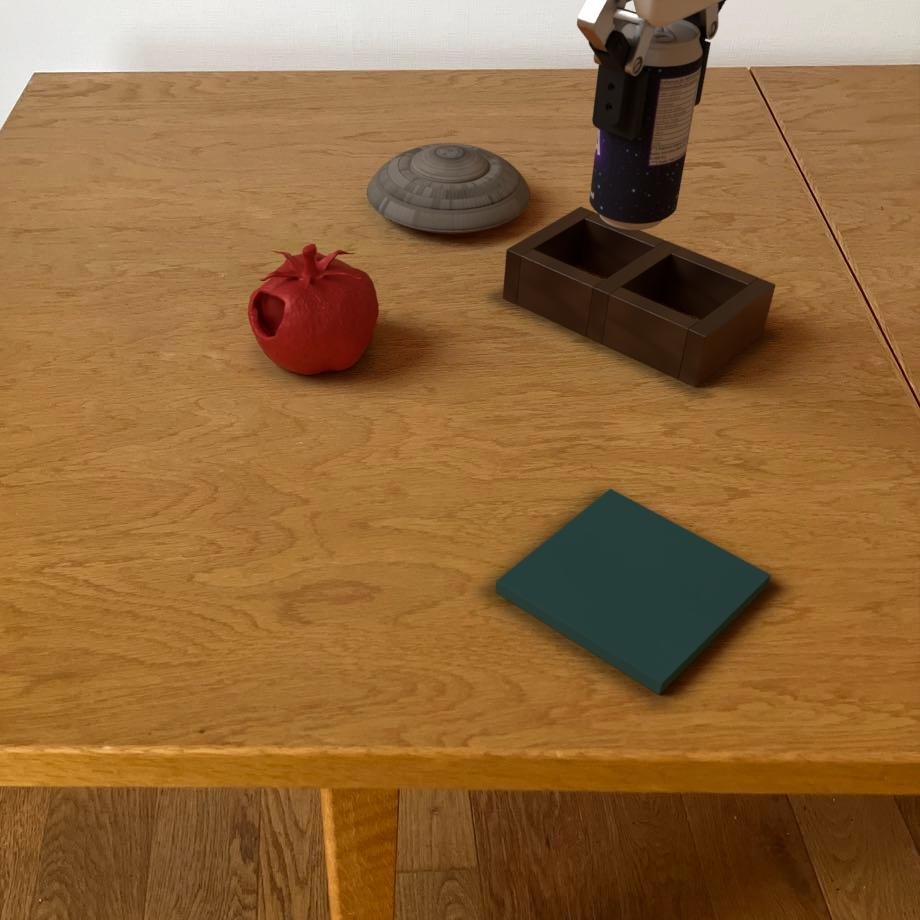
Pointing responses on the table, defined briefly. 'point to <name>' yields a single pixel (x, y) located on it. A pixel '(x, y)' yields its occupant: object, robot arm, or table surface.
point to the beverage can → (651, 135)
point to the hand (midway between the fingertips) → (646, 113)
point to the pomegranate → (314, 313)
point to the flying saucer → (448, 189)
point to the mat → (633, 588)
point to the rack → (638, 294)
